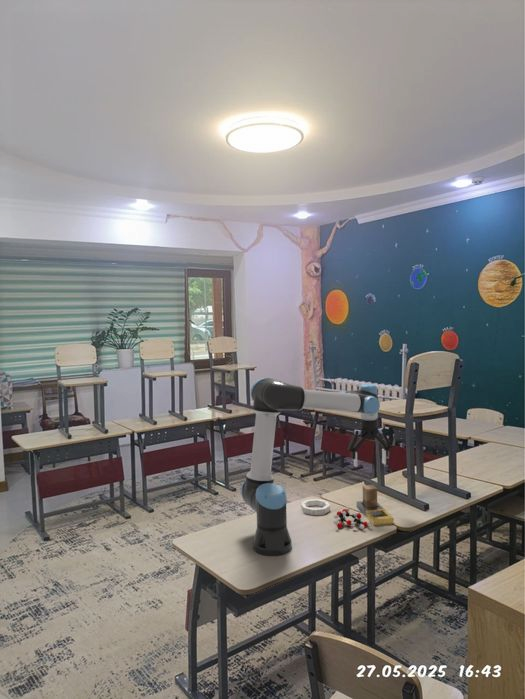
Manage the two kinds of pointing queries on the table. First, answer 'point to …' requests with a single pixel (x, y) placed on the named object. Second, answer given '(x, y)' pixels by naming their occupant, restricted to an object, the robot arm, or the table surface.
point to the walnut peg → (369, 496)
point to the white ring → (317, 510)
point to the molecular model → (349, 522)
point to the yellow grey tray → (376, 514)
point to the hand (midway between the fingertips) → (369, 464)
